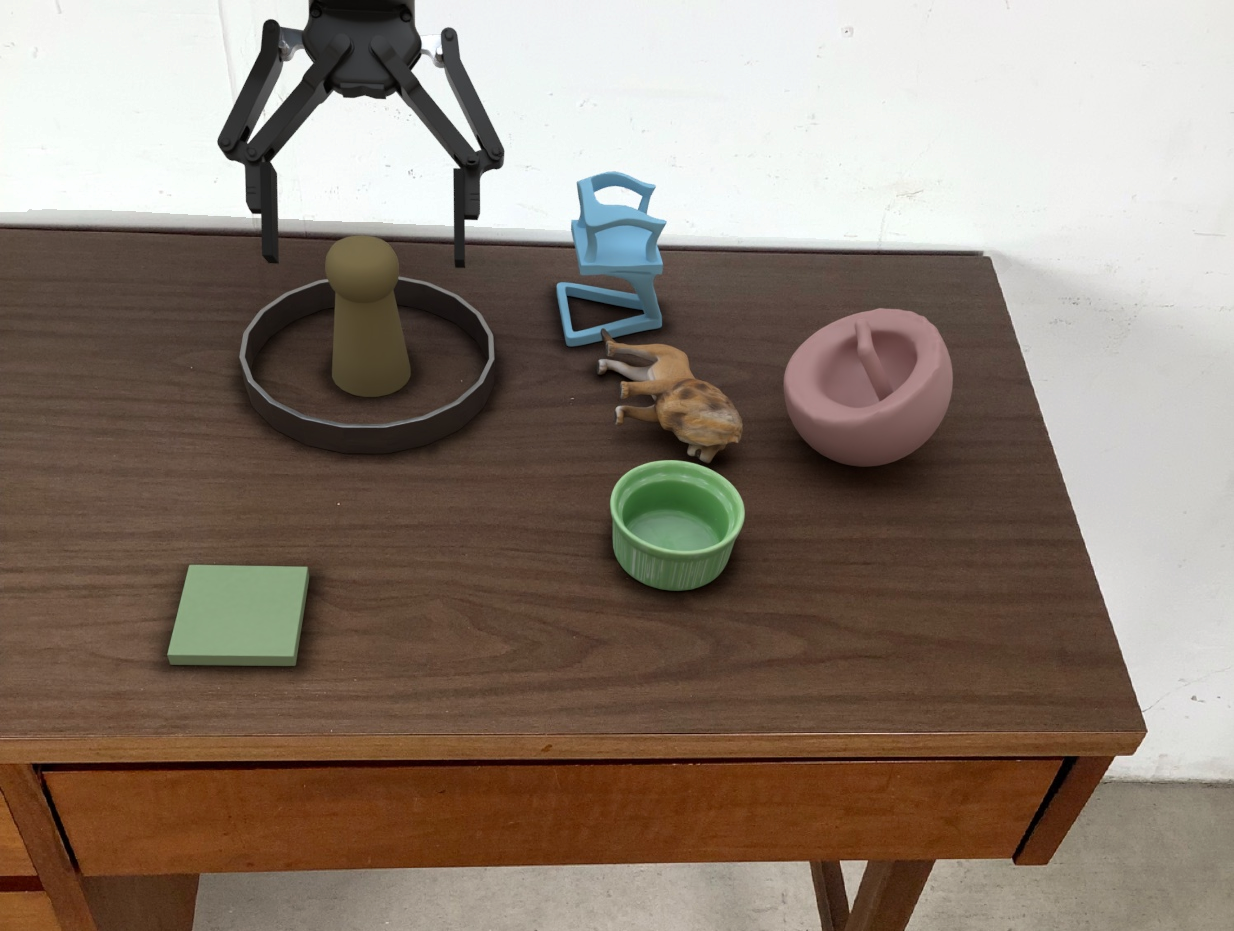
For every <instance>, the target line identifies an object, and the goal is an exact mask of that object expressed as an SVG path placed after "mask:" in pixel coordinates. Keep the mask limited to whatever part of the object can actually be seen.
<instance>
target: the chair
mask: <svg viewBox="0 0 1234 931" xmlns="http://www.w3.org/2000/svg"><path fill="white" fill-rule="evenodd" d="M612 187H619V188H624V189H627V190H630V191H632V192H634V193H635V194H638V195H639V196H641V199H640V202H639V204H638V208H634V207H632V206H629V205H625V204H603V203H602V202H601V203H600V202H599V201H598V200H597V197H596V195H595V193H597V192H598V191H601V190H603V189H606V188H612ZM656 187H657V185H656V184H653V183H649V182H645V181H641V180H640V179H637V178H635V177H634V176H632V175H629V174H626V173H624V172H620V171H615V170H614V171H605V172H601V173H599V174H595V175H592V176H588V177H585V178H583V179H581V180H578V181H576V189H577V196H578V202H579V211H580V212H579V218H578V219H571V221H570V222H571V223H570V232H571V236H572V241H573V244H574V250H575V254H576V259H577V266H578V270H579V274H580V275H579V276H600V275H603V276H607V277H612V278H613V277H614V278H618V279H621V280H623V281H626V282H627V283H629V284H630V285H631V287H632V288H633V290H634V291H635V293H632V292H631V293H630V292H626V291H620V290H614V289H609V288H605V287H604V288H603V287H597V286H592V285H586V284H581V283H574V282H565V281H563V282H558V283H557V284H556V298H557V303H558V307H559V308H558V309H559V314H560V319H561V325H562V329H563V334H564V341H565V345H566V346H568V347H579V346H584V345H588V344H593V343H597V342H602V341H603V340H602V336H601V329H602V328H604V329H606V331H607V332H608V333H609V334H610V336H611V337H612V339H613V338H617V337H622V336H626V335H630V334H635V333H640V332H644V331H649V330H651V331H652V330H657V329H661V328H662V326H663V316H662V312H661V309H660V306H659V303H658V297H657V294H656V291H655V286H654V280H655V277H657V275H663V269H664V263H663V259H662V256H661V253H660V249H659V246H658V244H657V243H658V240H659V238H660V236H661V234H662V232H663V231H664V229H665V227H666V225H667V223H668V221H667V220H665V219H660V218H657V217H654V216H651V215H649V214H648V209H649V205H650V200H651V198H652V195H653V194H654V192H655V190H656ZM567 296H568V297H573V298H578V299H584V300H589V301H593V302H599V303H602V304H603V303H604V304H607V305H612V306H617V307H623V308H629V309H635V310H641V311H643V313H644V314H639V315H635V316H632V317H631V316H630V317H627V318H624V319H619V320H616V321H611V322H609V323H605V324H601V325H597V326H593V327H590V328H585V329H583V330H578V331H574V330H573V326H572V320H571V314H570V309H569V304H568V297H567Z"/></svg>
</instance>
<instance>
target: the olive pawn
mask: <svg viewBox="0 0 1234 931" xmlns="http://www.w3.org/2000/svg"><path fill="white" fill-rule="evenodd" d="M399 263H400V262H399V259H398V256H397V254H396V252H395V250H394V249H393V248H392V246H391V245H390V244H389V243H387V242H386V241H385V240H384V239H381V238H379V237H377V236H372V235H366V234H356V235H350V236H346V237H344V238H341V239H339V240H337V241H336V242H334V243H333V244H332V245H331V247H330V248H329V250H328V252H327V253H326V257H325V263H324V265H325V266H324V270H325V276H326V279H328V281H329V283H330V285H331V287H332V289H333V290H334V291H335V292H336V293H335V307H334V318H333V319H334V321H333V339H332V340H333V341H332V360H331V361H332V362H331V365H332V366H331V378H332V381H333V382H334V384H335V385H336V386H337V387H338V388H340V389H341V391H344V392H345V393H348V394H350V395H352V396H358V397H364V398H378V397H383V396H388V395H391V394H393V393H395V392H398V391H399V390H401V389H402V388H403V387H405V385H407V384H408V382H409V380H410V378H411V377H412V373H411V372H412V370H411V369H412V368H411V364H410V359H409V354H408V350H407V344H406V341H405V340H406V339H405V336H404V332H403V328H402V322H401V319H400V314H399V308H398V304H396V300H395V295H394V291H393V289H394V288H395V286H396V284H397V282H398V278H399V276H400V264H399Z"/></svg>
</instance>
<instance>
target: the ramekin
mask: <svg viewBox="0 0 1234 931" xmlns="http://www.w3.org/2000/svg"><path fill="white" fill-rule="evenodd" d="M610 495H611V496H610V499H609V500H610V501H609V508H610V509H609V510H610V515H611V519H612V548H613V552H614V555H615V558H616V560H617V562H618V563H619V565H620V566H621V568H622V569H623V570H624V571H625V572H626V573H627V574H628V575H629V576H630V577H632V578H633V579H635V580H637V581H638V582H640V583H642V584H644V585H646V586H648V587H652V588H655V589H659V590H664V591H671V592H672V591H673V592H675V591H677V592H679V591H680V592H681V591H689V590H694V589H698V588H701V587H704V586H706V585H707V584H709V583H711V582H713V581H714V580H716V578H718V577H719V576H720V575H721V574H722V572H723V570H724V569H725V568H726V566H727V564H728V561H729V559H730V556H731V554H732V550H733V548H734V546H735V545H734V544H735V542H736V539H737V538H738V536H739V535H740V533H741V530H742V528H743V526H744V523H745V520H746V519H745V518H746V517H745V516H746V514H745V513H746V510H745V504H744V501H743V498H742V496H741V495H740V493H739V491H738V490H737V489H736V487H735V486H734V485H733V483H731V482H730V481H729V480H728V479H727V478H725V477H724V476H722V475H721V474H719V473H718V472H717V471H715V470H712V469H710V468H709V467H707V466H704V465H700V464H698V463H694V462H691V461H683V460H670V459H669V460H668V459H667V460H656V461H650V462H646V463H644V464H641V465H638V466H636V467H634V468H632V469H630V470H629V471H627V472H626V473H624V474H623V475H622V476H621V477H620V478H619V479H618V481H617V482H616V484H615V485H614V487H613V489H612V492H611V494H610Z"/></svg>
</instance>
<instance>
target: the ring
mask: <svg viewBox="0 0 1234 931" xmlns="http://www.w3.org/2000/svg"><path fill="white" fill-rule="evenodd" d="M393 291H394V295H395V300H396V304H397V306H403V307H408V308H413V309H417V310H423V311H427V312H429V313H432V314H434V315H436V316H438V317H441V318H442V319H445V320H447V321H449V322H452V323H454V324H456V325H457V326H458V327H459V328H460V329H462V330H463V331H464V332H465V333H467V334H468V335H469V336H470V337H472V338H473V340H475V341H476V343H477V344H478V346H479V347H480V349H481V351H482V353H483V355H484V356H485V359H486V360H487V362H486V364H485V366H484V368H483V370H482V373H481V374H480V377H479V378H478V380H477V381H476V383H474V384H473V385H472V386H471V387H470V388H468V390H466V391H465V392H464V393H463V394H462V395H461V396H459V397H458V398H457V399H456V400H454V401H453V402H450V403H448V404H446V405H444V406H441V407H438V408H437V409H435V410H433V411H431V412H428V413H427V414H424V415H419V416H415V417H411V418H406V419H401V420H396V421H391V422H386V423H342V422H338V421H333V420H329V419H324V418H320V417H315V416H310V415H306V414H303V413H301V412H299V411H297V410H295V409H293V408H291V407H289V406H287V405H285V404H283V403H280V402H279V401H277V400H275V399H274V398H273V397H272V396H270V395H269V394H268V392H267V391H265V389H264V388H262V387H261V386H260V385H259V384H258V383H257V382H256V381H255V380H254V378H253V375H252V371H253V364H254V359H255V358H256V357H257V355H259V352H260V351H261V350H262V349H263V347H264V346H265V344H266V342H267V341H268V340H269V338H271V337H272V336H274V335H275V334H277V333H278V332H280V331H281V330H283V329H284V328H285V327H287V326H288V325H290V324H291V323H292V322H295V321H297V320H299V319H301V318H305V317H306V316H310V315H312V314H315V313H317V312H320V311H322V310H326V309H333V308H335V293H336V292H335V291H334V290H333V289H332V287H331V285H330V283H329V281H328V279H327V278H324V279H318V280H316V281H312V282H310V283H308V284H306V285H303V286H300V287H297V288H294V289H292V290H289V291H287V292H284V293H283V294H282V295H279V297H277V298H275V299H274V300H273V301H271V302H270V303H269V304H267V305H266V306H264V307H262V308H261V309H260V310H259V311H258V312H257V314H256V315H255V316H254V318H253V319H252V320H251V322H250V323H249V325H248V326H247V327H246V329H245V330H244V332H243V334H242V339H241V344H240V349H239V350H240V351H239V357H238V358H239V364H240V368H241V373H242V374H241V375H242V379H243V380H242V381H243V384H244V387H245V389H246V392H247V393H246V394H247V396H248V399H249V400H250V404H251V407H252V409H254V410H255V411H256V413H257V414H258V415H259V416H261V417H262V418H263V420H264V421H265V422H267V423H268V424H269V425H270V427H271V428H273V429H274V430H275V431H277V432H279V433H281V434H283V435H285V436H287V437H289V438H291V439H294V440H295V441H297V442H299V443H301V444H303V445H305V446H309V447H314V448H318V449H323V450H327V451H332V452H337V453H342V454H346V455H347V454H348V455H349V454H392V453H396V452H401V451H406V450H411V449H415V448H420V447H425V446H428V445H430V444H432V443H434V442H436V441H439V440H441V439H443V438H445V437H447V436H450V435H452V434H453V433H455V432H457V431H460V430H461V429H463V428H464V427H465V426H466V425H467V424H468V423H469V422H470V421H471V420H473V418H474V417H475V416H477V415H478V414H479V413H480V412H481V411H482V410H483V409H484V407H485V405H486V403H487V402H488V399H489V396H490V394H492V390H493V389H494V387H495V344H494V343H495V341H494V334H493V333H492V331H491V329H490V327H489V326H488V324H487V322H486V320H485V319H484V316H483V315H482V313H480V311H478V310H477V309H476V308H474V306H472V305H470V303H469V302H467V301H466V300H465V299H463V298H462V297H461V296H459V295H458V294H456V293H454V292H453V291H450V290H447V289H445V288H442V287H440V286H438V285H435V284H433V283H431V282H429V281H424V280H419V279H413V278H411V277H410V278H409V277H404V276H400V275H399V278H398V282H397V284H396V286H395V288H394V289H393Z"/></svg>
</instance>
